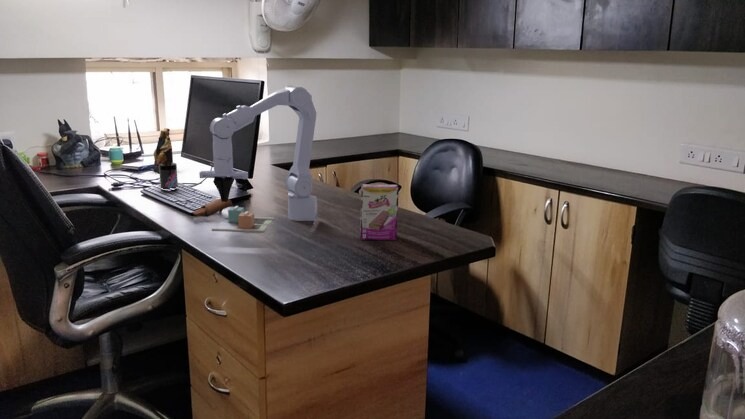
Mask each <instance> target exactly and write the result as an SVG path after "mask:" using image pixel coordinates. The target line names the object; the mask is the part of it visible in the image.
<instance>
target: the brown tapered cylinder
mask: <svg viewBox="0 0 745 419" xmlns="http://www.w3.org/2000/svg"><path fill="white" fill-rule="evenodd" d="M229 206H231V207H233V202H232V200H231V199H230V198H229V199H228V201H227V202H222V201H221V198H219V199H216V200H213V201H211V202H208V203H206V204H204V205H201V206H200V208H198V209H196V210H194V211H193V212H192V214H193V215H197V216H203V217H209V216H212V215H213V214H215V213H217V212H220V211H221V210H223V209H226V208H228V207H229Z"/></svg>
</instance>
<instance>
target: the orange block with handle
mask: <svg viewBox="0 0 745 419" xmlns="http://www.w3.org/2000/svg"><path fill="white" fill-rule="evenodd" d="M254 217H255V213H254V212H250V211H244V213H241V214H240V215H239V216H238V223H237V224H238V227H239V229H241V228H242V229H252V228H254V227H255V219H254ZM253 226H254V227H253Z"/></svg>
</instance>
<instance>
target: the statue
mask: <svg viewBox="0 0 745 419" xmlns="http://www.w3.org/2000/svg"><path fill="white" fill-rule="evenodd" d="M170 132H171V130H170V128H168V127H167V128H166V127H164V128H163V129H161V130H160V133H159V137H158V141H157V144H156V148H155V149H154V152H153V160H154V164H153V165H152V170H153V171H154V172H155V173H157V174H160V172H159V164H162V163H174V159H173V157H174V156H173V147H172V141H171V137H170Z"/></svg>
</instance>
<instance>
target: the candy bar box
mask: <svg viewBox="0 0 745 419" xmlns="http://www.w3.org/2000/svg"><path fill="white" fill-rule="evenodd" d="M398 207H399V185H398V184H375V183H374V184H371V183H370V184H368V183H367V184H366V183H363V184H361V190H360V218H359V219H360V222H359V223H360V224H359V226H360V227H359V228H360V229H359V238H360V240H361V241H375V240H376V241H397V236H398V235H397V233H398V212H399V211H398V210H399V209H398Z"/></svg>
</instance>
